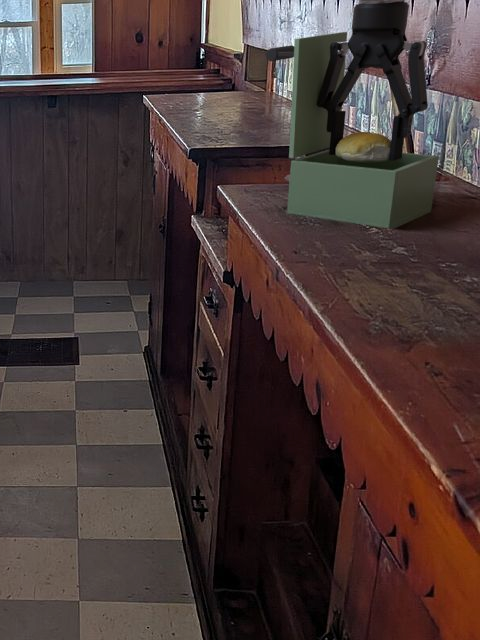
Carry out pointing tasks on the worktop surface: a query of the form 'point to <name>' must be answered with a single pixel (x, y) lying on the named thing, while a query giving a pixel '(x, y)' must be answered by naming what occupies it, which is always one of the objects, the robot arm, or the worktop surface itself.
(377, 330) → the worktop surface
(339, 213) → the bread bin
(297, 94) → the bin lid
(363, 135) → the bread roll
